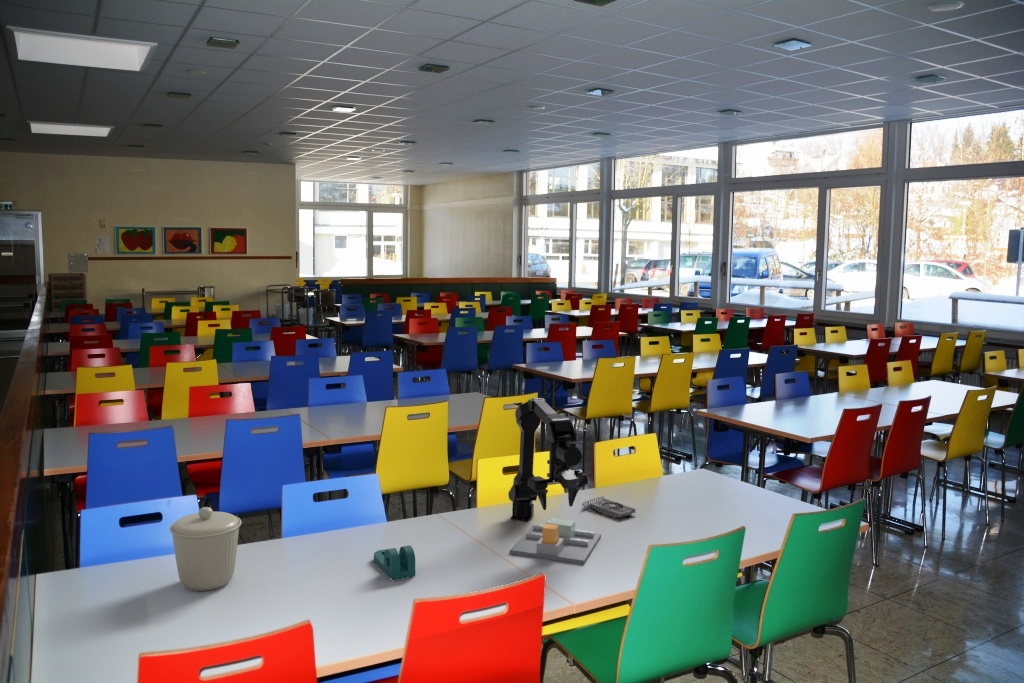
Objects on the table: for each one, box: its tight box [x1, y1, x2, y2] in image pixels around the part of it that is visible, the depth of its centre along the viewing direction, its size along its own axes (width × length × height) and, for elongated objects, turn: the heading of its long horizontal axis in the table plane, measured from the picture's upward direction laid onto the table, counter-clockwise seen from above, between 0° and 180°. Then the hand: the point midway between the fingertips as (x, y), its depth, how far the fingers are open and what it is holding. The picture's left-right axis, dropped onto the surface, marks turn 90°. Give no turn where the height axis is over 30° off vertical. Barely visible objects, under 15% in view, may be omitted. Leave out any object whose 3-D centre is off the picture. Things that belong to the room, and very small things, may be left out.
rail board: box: [509, 523, 602, 565], centre depth 248 cm, size 23×24×4 cm
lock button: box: [542, 523, 559, 545], centre depth 240 cm, size 4×4×5 cm
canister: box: [168, 506, 242, 592], centre depth 214 cm, size 18×18×21 cm
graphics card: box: [581, 495, 636, 519], centre depth 281 cm, size 17×4×12 cm
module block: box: [545, 517, 576, 538], centre depth 252 cm, size 8×5×5 cm, turn 71°
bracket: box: [373, 545, 416, 581], centre depth 228 cm, size 18×7×8 cm, turn 29°
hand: (557, 508), depth 245 cm, fingers open, 9 cm apart
